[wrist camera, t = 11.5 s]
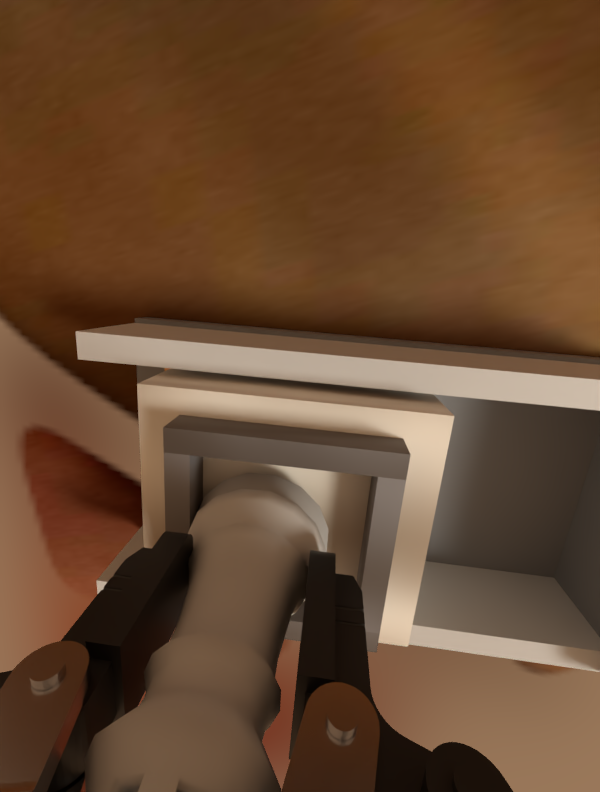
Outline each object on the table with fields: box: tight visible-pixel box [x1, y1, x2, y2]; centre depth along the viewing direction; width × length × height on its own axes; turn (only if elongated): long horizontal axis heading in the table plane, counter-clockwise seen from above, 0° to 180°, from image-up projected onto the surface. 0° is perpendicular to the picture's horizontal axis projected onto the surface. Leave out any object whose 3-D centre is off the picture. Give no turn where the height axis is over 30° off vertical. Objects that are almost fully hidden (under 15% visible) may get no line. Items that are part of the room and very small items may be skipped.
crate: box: [137, 369, 454, 652], centre depth 15 cm, size 9×10×6 cm
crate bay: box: [76, 317, 600, 672], centre depth 15 cm, size 12×22×7 cm, turn 85°
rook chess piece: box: [84, 473, 328, 792], centre depth 9 cm, size 4×4×8 cm
